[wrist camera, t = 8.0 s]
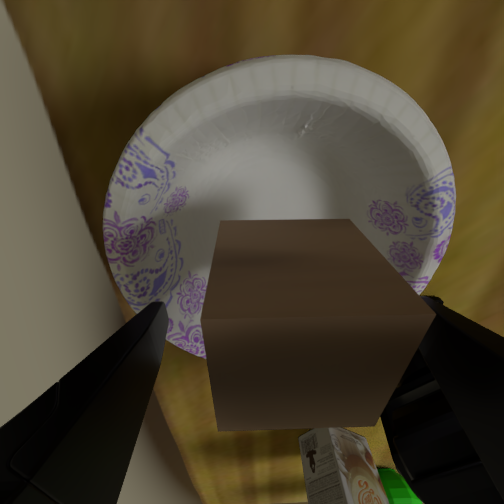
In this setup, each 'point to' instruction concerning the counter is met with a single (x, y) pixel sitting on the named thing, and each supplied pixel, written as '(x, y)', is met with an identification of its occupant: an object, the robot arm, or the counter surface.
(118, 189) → the paper bowls
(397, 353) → the walnut block
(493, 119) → the counter surface
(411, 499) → the plastic bottle
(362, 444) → the coffee box
